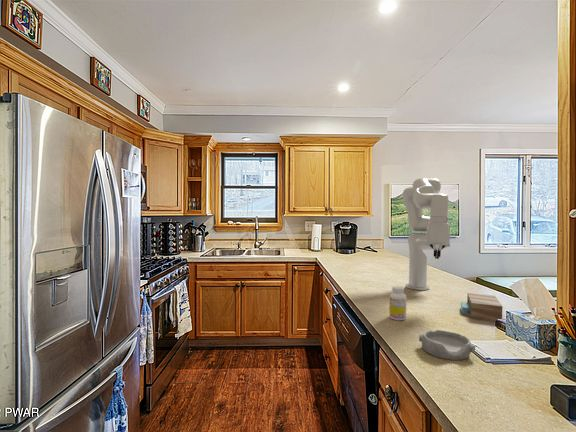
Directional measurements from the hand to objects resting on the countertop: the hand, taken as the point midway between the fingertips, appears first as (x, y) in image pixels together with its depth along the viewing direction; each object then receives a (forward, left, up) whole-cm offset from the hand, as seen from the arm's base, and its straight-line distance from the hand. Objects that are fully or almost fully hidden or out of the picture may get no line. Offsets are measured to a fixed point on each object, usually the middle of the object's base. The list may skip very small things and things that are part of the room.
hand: (436, 258), depth 155 cm
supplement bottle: (+30, -14, -22) cm, 40 cm away
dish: (+56, +3, -23) cm, 60 cm away
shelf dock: (+7, +19, -22) cm, 30 cm away
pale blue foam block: (+7, +16, -22) cm, 28 cm away
